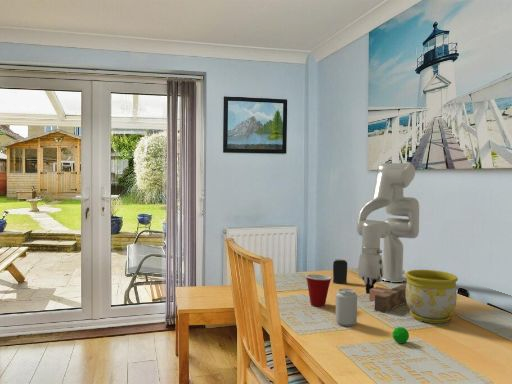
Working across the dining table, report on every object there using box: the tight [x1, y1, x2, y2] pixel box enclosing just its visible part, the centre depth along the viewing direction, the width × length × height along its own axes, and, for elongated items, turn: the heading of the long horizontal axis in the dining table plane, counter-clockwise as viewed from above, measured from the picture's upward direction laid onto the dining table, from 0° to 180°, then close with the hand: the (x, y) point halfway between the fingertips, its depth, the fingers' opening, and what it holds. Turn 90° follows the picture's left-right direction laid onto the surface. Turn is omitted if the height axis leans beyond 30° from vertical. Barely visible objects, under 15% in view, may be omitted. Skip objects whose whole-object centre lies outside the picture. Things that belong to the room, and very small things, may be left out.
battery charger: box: [332, 258, 348, 284], centre depth 216 cm, size 7×4×11 cm, turn 83°
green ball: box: [392, 326, 410, 344], centre depth 140 cm, size 5×5×5 cm
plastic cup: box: [304, 273, 333, 308], centre depth 179 cm, size 11×11×12 cm
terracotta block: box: [368, 286, 390, 302], centre depth 185 cm, size 6×8×5 cm
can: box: [334, 288, 358, 327], centre depth 157 cm, size 8×8×12 cm
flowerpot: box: [405, 269, 459, 324], centre depth 164 cm, size 18×18×16 cm
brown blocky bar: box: [374, 282, 407, 313], centre depth 181 cm, size 28×4×6 cm, turn 137°
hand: (369, 293), depth 190 cm, fingers closed
